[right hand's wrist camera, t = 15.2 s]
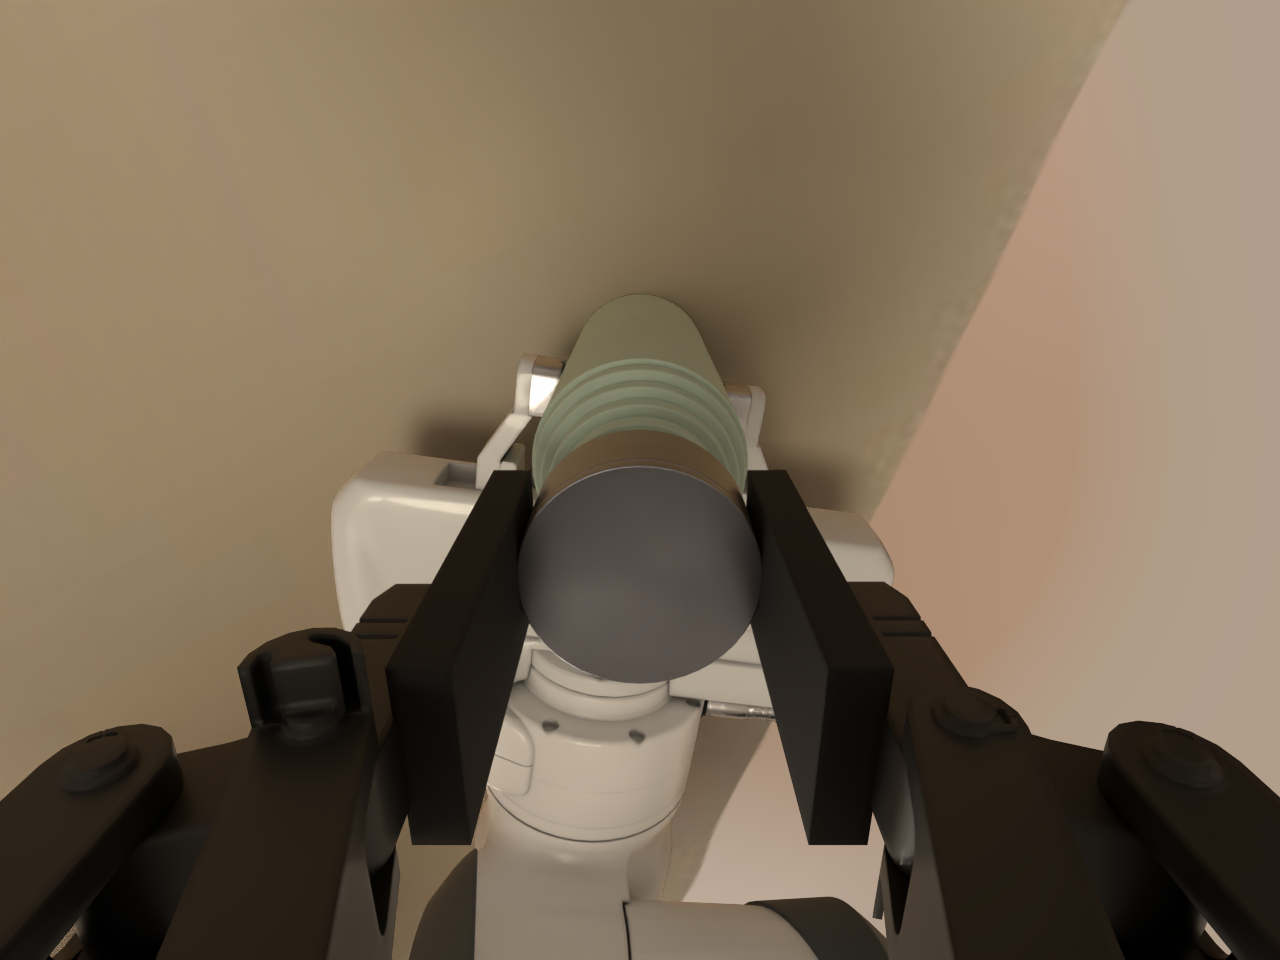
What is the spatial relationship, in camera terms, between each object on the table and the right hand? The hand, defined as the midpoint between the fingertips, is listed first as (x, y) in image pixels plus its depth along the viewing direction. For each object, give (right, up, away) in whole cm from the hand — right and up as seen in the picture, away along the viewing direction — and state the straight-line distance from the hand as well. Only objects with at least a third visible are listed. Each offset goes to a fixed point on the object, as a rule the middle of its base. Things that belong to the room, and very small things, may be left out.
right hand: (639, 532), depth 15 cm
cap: (0, -1, -2) cm, 2 cm away
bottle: (0, +6, +16) cm, 17 cm away
